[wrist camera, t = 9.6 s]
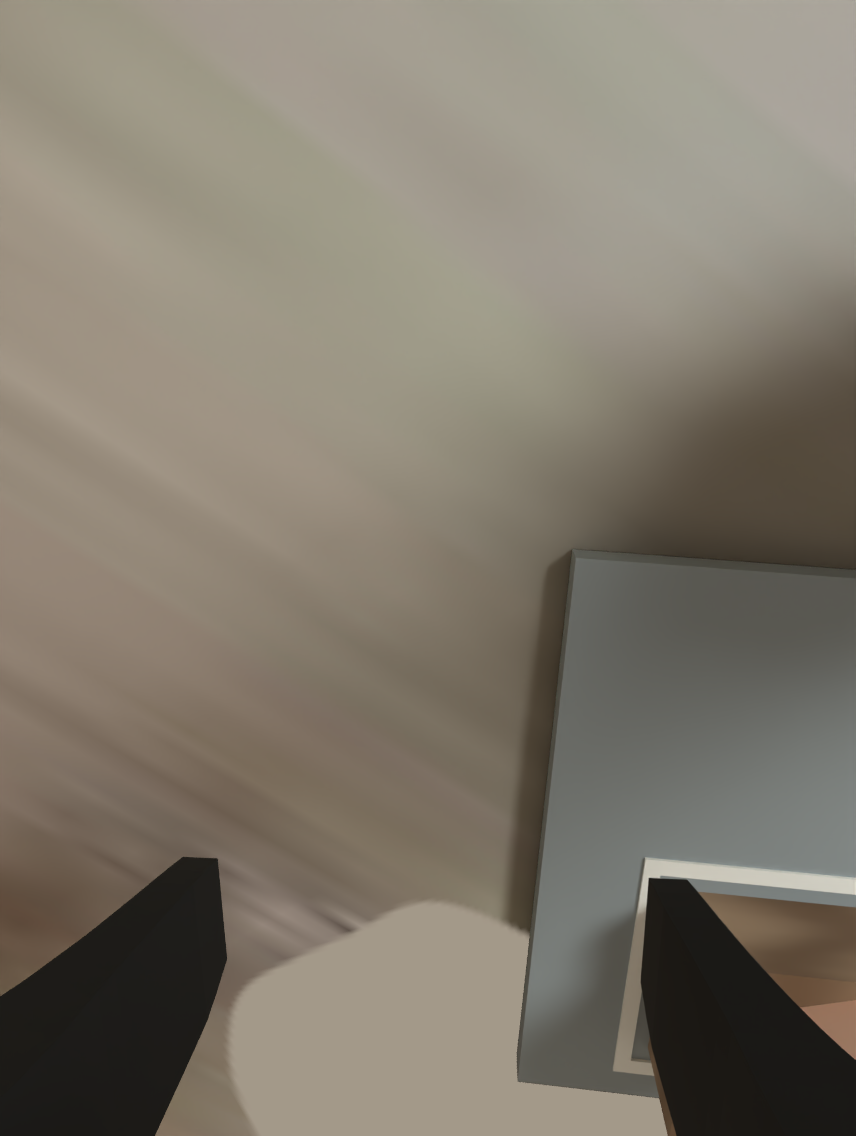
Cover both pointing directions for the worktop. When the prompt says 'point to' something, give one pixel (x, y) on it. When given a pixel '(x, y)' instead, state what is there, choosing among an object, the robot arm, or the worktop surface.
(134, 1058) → the robot arm
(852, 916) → the base block
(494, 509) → the worktop surface
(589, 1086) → the build board
